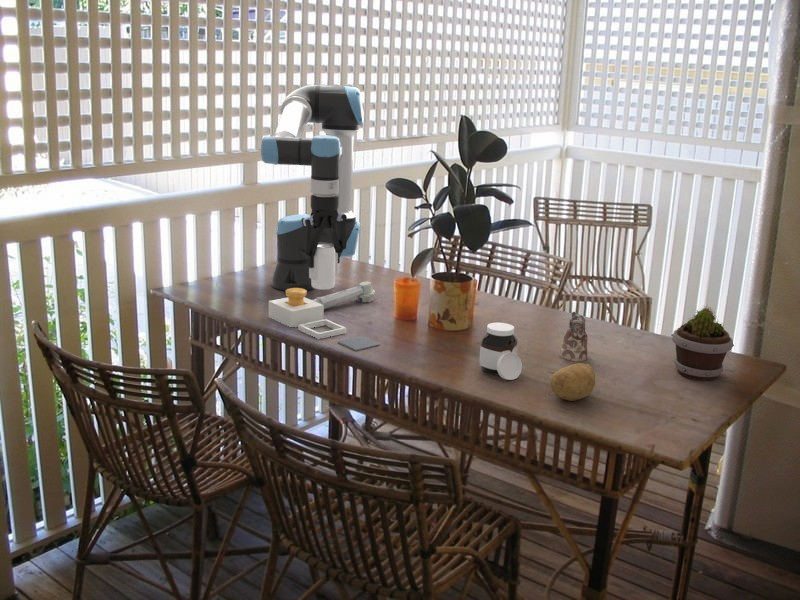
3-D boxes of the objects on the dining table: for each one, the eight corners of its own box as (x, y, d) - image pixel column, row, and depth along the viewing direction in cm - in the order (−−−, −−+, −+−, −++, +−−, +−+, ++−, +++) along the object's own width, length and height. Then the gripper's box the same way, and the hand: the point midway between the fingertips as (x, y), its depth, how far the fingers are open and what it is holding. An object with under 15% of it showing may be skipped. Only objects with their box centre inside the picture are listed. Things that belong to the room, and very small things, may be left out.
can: (307, 288, 242) (308, 246, 238) (316, 282, 248) (316, 241, 244) (330, 291, 240) (330, 249, 237) (337, 285, 246) (338, 243, 243)
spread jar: (493, 361, 231) (497, 318, 227) (532, 371, 225) (536, 328, 221) (470, 373, 221) (473, 329, 218) (510, 385, 215) (513, 340, 212)
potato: (603, 394, 212) (607, 363, 210) (578, 412, 201) (581, 379, 199) (566, 384, 217) (570, 353, 215) (540, 400, 206) (543, 369, 204)
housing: (299, 311, 264) (299, 295, 263) (348, 332, 247) (348, 315, 246) (268, 317, 257) (268, 300, 256) (316, 339, 240) (316, 322, 239)
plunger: (298, 311, 260) (298, 286, 258) (310, 317, 256) (310, 291, 254) (281, 315, 257) (281, 289, 254) (293, 320, 252) (293, 294, 250)
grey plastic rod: (304, 299, 264) (366, 275, 279) (306, 319, 266) (367, 295, 282) (315, 303, 260) (377, 279, 276) (317, 323, 263) (378, 299, 278)
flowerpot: (674, 359, 238) (684, 288, 232) (733, 372, 230) (745, 299, 225) (660, 375, 226) (670, 301, 220) (721, 389, 218) (734, 312, 213)
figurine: (564, 361, 233) (569, 318, 229) (556, 352, 239) (560, 310, 236) (590, 361, 234) (595, 318, 230) (581, 351, 241) (585, 309, 237)
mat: (361, 337, 244) (361, 335, 244) (379, 345, 238) (379, 344, 238) (337, 342, 239) (337, 341, 239) (356, 351, 233) (356, 349, 233)
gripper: (303, 200, 227) (302, 285, 234) (361, 193, 240) (359, 274, 247) (286, 195, 233) (286, 278, 240) (344, 188, 245) (342, 268, 252)
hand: (323, 276), depth 243 cm, fingers closed on can, 6 cm apart
